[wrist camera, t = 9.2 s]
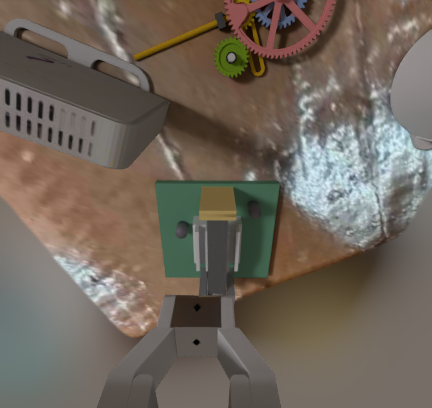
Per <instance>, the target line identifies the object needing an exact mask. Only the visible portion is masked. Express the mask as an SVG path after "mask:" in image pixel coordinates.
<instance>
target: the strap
mask: <svg viewBox="0 0 432 408" xmlns="http://www.w3.org/2000/svg"><path fill="white" fill-rule="evenodd" d="M227 239H228V220H207V248H208V295H226V267H227Z"/></svg>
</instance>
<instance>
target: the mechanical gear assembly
mask: <svg viewBox="0 0 432 408" xmlns="http://www.w3.org/2000/svg"><path fill="white" fill-rule="evenodd" d="M306 2H307V0H224V4H227V5H226V6H225V10H228V11H227V12H226V16H224V17H223V14H222V12H219V13H217V14H215V18H216V20H215V21H212V22H210V23H208V24H205V25H203V26H201V27H198V28H196V29H194V30H191V31H189V32H187V33H184V34H182V35H180V36H178V37H175V38H173V39H171V40H168V41H166V42H164V43H161V44H159V45H157V46H154V47H152V48H150V49H147V50H145V51H143V52H140V53H138V54H136V55H134V59H135V60H136V61H137V60H139V59H142V58H144V57H146V56H149V55H151V54H153V53H156V52H158V51H160V50H163V49H165V48H167V47H170V46H172V45H174V44H177V43H179V42H181V41H184V40H186V39H188V38H191V37H193V36H195V35H198V34H200V33H202V32H205V31H207V30H209V29H212V28H214V27H216V26H218V28H219V30H221V29H223V28H226V25H225V23H226V22H228V21H230V22H229V24H228V25H229V26H231V25H233V26H232V28H231V30H235V32H234V35H236V34H238V36H237V38H236V37H234V38H233V40H232V38H231V37H229V40H227V38H225V42H223V41H222V40H221V45H220V44H217V46H218V49H217V48H215V51H216V52H217V53H214V54H213V55H214V56H216V58H214V59H213V60H214V61H216V63H215V64H214V65H216V66H217V65H218V67H217V68H216V70H219V69H220V71H219V74H220V73H222V72H223V76H225V74H227V78H228V77H229V75H231V77H232V78H233V75H235V76H236V77H237V73H239V74H240V75H241V70H242V71H245V70H244V68H243V67H247V65H246V64H245V63H247V62H249V64H250V68H251V71H252V73H253V75H255V76H260V75H262V74H263V72H264V71H265V66H264V62H263V57H264V56H265V55H266V58H269V56H270V58H271V59H273V57H274V56H275V59H277V58H278V55H279V58H282V56H284V58H285V57H287V54H288V56H291V53H292V54H293V55H294V54H296V52H297V53H298V52H300V49H301V50H304V46H305V47H308V43H309V44H311V43H312V40H316V36H319V35H320V33H319V31H320V32H321V31H323V27H325V26H326V25H327V24H326V23H325V22H327V21H329V20H330V19H329V18H328V16H331V15H332V13H331V12H330V11H332V10H334V7H333V6H332V5H334V4H336V1H334V0H327V1H326V4H325V7H324V10H323V12H322V15H321V17H320V18H319V20H318V22H317V24H316V25H315V24H314V23H313V22H312V21H311V20H310V19H309V18H308V17H307V16H306V15H305V13H304V12H303V11H302V10H301V9H304V8H305V6H304V5H303V3H306ZM283 3H284V4H285V5H286V6H287V7H288V9H289V10H290V11H291V12H292V14H291V15H290V16H288V17H286V14H285V9H284V4H283ZM295 3H297V5H296V4H295ZM266 5H268V6H267V7H266V8H265V10H264V11H261V9H260V8H261V7H264V6H266ZM273 7H274V11H273V16H272V20H271V19H269V18H267V15H268V13H269V12H270V11H271V10H272V8H273ZM256 13H257V15H256ZM255 15H256V16H255ZM279 15H280V20H279ZM253 16H255V18H258V17H259V20H258V22H260V21H262V26H263V25H264V24H265V23H266V27H265V28H267V27H268V26H269V25H270V31H269V36H268V41H267V46H266V48H264V47H262V46H260V44H259V40H258V36H257V31H256V27H255V23H254V19H253ZM294 18H296V19H297V18H298V19H299V20H300V21H301V23H302V24H303V25H304V26H305V27H306V28H307V29H308V30H309V31H310V33H309V34H308V35H307V36H306V37H305V38H303V39H302V40H301V41H299V42H298V43H296V44H294V45H292V46H290V47H286V48H283V49H273V44H274V39H275V34H276V29H277V27H278V28H279V29H281V28H282V26H283V28H285V27H286V24H287V25H288V26H289V25H291V22H292V23H293V22H295V19H294ZM247 25H248V26H249V27H250V26H251V30H252V34H253V38H254V42H255V43H254V42H253V41H252V40H250V39H249V38H248V37H247V35H246V31H245V30H247ZM240 38H241V39H240ZM236 39H238V40H237V41H236ZM245 49H246V50H245ZM253 50H254V54H256V53H257V55H258V59H259V63H260V67H261V70H260V72H256V71H255V67H254V63H253V59H252V55H251V52H252V51H253ZM246 53H247V55H246ZM246 58H248V60H249V61H248V60H247V59H246Z"/></svg>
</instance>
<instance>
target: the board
mask: <svg viewBox="0 0 432 408" xmlns="http://www.w3.org/2000/svg"><path fill="white" fill-rule="evenodd" d="M155 187H156V196H157V204H158V213H159V222H160V231H161V239H162V248H163V257H164V266H165V275H166V277H200V289H199V295H207V278H208V248H207V220H228V239H227V267H226V288H227V295H232V296H233V306H234V302H235V291H234V279H233V278H268V271H269V263H270V256H271V248H272V240H273V233H274V225H275V217H276V210H277V202H278V195H279V187H280V183H279V181H156V183H155Z"/></svg>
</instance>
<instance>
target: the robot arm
mask: <svg viewBox="0 0 432 408" xmlns="http://www.w3.org/2000/svg"><path fill="white" fill-rule="evenodd" d="M391 107H392V111H393V114H394V116H395V118H396V120H397V121H398V123H399V124H400V125H401V126H402V127H403V128H405V129H406V130H407V131H408V133H409V134H410V138H411V141H412V144H413V146H414V147H415V148H417V149H421V150H426V149H432V29H431V30H430V31H429V32H427V33H426V34H425V35H424V36H422V37H421V38H420V39H419V40H418V41H417V42H416V43H415V44H414V45H413V46H412V48H411V49H410V50H409V51H408V53H407V54H406V55H405V57H404V58H403V60H402V62H401V63H400V65H399V67H398V69H397V72H396V74H395V77H394V80H393V83H392V88H391ZM186 356H206V357H207V356H208V357H217V358H218V360H219V362H220V364H221V365H222V367H223V369H224V371H225V373H226V375H227V376H228V378H229V380H230V390H229V406H228V408H281V404H280V400H279V395H278V389H277V384H276V379H275V374H274V373H273V371H272V370H271V369H270V367H269V366H268V365H267V364H266V362H265V361H264V360H263V359H262V357H261V356H260V355H259V353H258V352H257V351H256V350H255V348H254V347H253V346H252V344H251V343H250V342H249V341H248V340H247V338H246V337H245V336H244V334H243V333H242V332H241V330H240V329H239V328H235V319H234V306H233V296H232V295H199V296H193V295H165V296H164V298H163V302H162V306H161V310H160V315H159V319H158V323H157V328H152V329H151V330H150V331H149V332H148V333H147V334H146V335H145V337H144V338H143V339H142V340H141V341H140V342H139V343H138V344H137V345H136V346H135V347H134V348H133V349H132V350H131V351H130V352H129V353H128V354H127V355H126V356H125V357H124V358H123V359H122V360H121V361H120V362H119V364H118V365H116V367H115V368H114V369H113V370H112V371H111V372H110V373H109V375H108V378H107V381H106V383H105V386H104V389H103V392H102V395H101V397H100V400H99V403H98V406H97V408H158V403H157V397H156V392H155V390H156V388H157V387H158V385H159V384H160V382H161V381H162V379H163V378H164V376H165V375H166V374H167V372H168V371H169V369H170V368H171V366H172V365H173V363H174V362H175V360H176V359H177V357H186Z"/></svg>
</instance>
